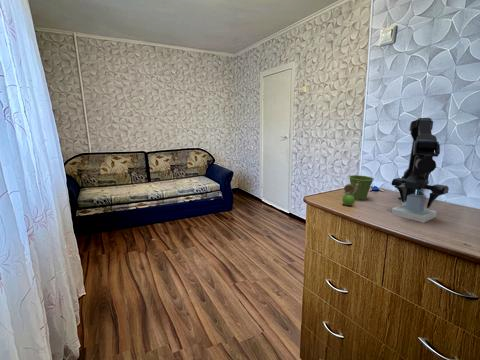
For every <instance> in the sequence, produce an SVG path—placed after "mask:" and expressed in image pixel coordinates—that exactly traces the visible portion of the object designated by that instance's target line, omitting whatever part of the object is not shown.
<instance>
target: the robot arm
mask: <svg viewBox="0 0 480 360" xmlns="http://www.w3.org/2000/svg"><path fill="white" fill-rule="evenodd" d="M433 127H434V121H433V120H432V118H430V117H419V118H417V119H415V120H413V121H411V122H410V124H409V129H408V130H409V133H410V136H411V138H412V143H411V144H412V145H411V149H410V157H409V161H408V162H409V163H408V168H407V169H406V170H405V171H404V173H403V175H401V177H395V178H393V179H392V180H391V186H394V188H396V189H397V191H398V192H399V196H400V197H398V199H399V200H401V202H402V203H404V204H405V201H406V200H407V195H410V194H416V191H417V190H418V191H420V190H422V189H424V190H427V191H428V190H429V191H430V192H429V198H428V202H427V204H426V209H430V207H431V206H432V205H433V203H434V202H435V201H436V199H437V198H438V197H440V196H442V195H443V196H444V195H446V194H448V193H449V189H450V188H449V186H448V185H444V184H437V183H436V184H433V185H431V184H429V183H430V182H429V178H430V175H431V173H432V172H434V171H435V170H436V168H437V163H436V161H435V160H434V157H436V158H437V157H439V155H440V152H441V147H440V146H441V144H440V143H439V141H438V139H437V136H436V135H434V134H432V130H433Z"/></svg>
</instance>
